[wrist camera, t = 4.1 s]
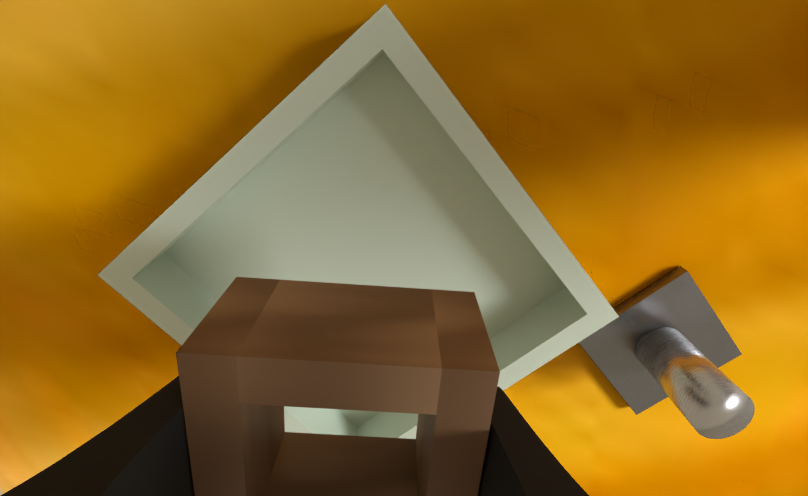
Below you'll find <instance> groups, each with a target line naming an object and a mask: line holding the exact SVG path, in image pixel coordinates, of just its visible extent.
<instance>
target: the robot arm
mask: <svg viewBox="0 0 808 496" xmlns="http://www.w3.org/2000/svg"><path fill="white" fill-rule="evenodd" d="M1 496H195V494H194V486H193V478H192V471H191V463H190V455H189V448H188V440H187V433H186V425H185V417H184V410H183V402H182V394H181V387H180V379H179V376H178V377H177V378H175V379H174V380H173V381H171V382H170V383H169V384H167V385H166V386H165V387H163V388H162V389H161V390H159V391H158V392H157V393H155V394H154V395H153V396H151V397H150V398H149V399H147V400H146V401H144V402H143V403H142V404H140V405H139V406H138V407H136V408H135V409H133V410H132V411H131V412H129V413H128V414H127V415H125V416H124V417H122V418H121V419H120V420H118V421H117V422H116V423H114V424H113V425H111V426H110V427H108V428H107V429H105V430H104V431H102V432H101V433H99V434H98V435H96V436H95V437H93V438H92V439H91V440H89V441H88V442H86V443H85V444H83V445H82V446H80V447H79V448H77V449H76V450H74V451H73V452H71V453H70V454H68V455H67V456H65V457H64V458H62V459H61V460H59V461H58V462H56V463H54V464H53V465H51V466H50V467H48V468H46V469H45V470H43V471H42V472H40V473H38V474H37V475H35V476H33V477H32V478H30V479H28V480H27V481H25V482H23V483H22V484H20V485H18V486H17V487H15V488H13V489H11V490H10V491H8V492H6V493H4V494H3V495H1ZM478 496H589V495H588V494H587V493H586V492H585V491H584V490H583V489H582V488H581V486H580V485H579V484H578V483H577V482H576V481H575V480H574V479H573V478H572V477H571V475H570V474H569V473H568V472H567V471H566V470H565V469H564V467H563V466H562V465H561V464H560V463H559V461H558V460H557V459H556V458H555V457H554V455H553V454H552V453H551V452H550V451H549V449H548V448H547V447H546V446H545V445H544V443H543V442H542V441H541V440H540V438H539V437H538V436H537V435H536V433H535V432H534V431H533V429H532V428H531V427H530V426H529V424H528V423H527V422H526V420H525V419H524V418H523V416H522V415H521V414H520V413H519V411H518V410H517V409H516V407H515V406H514V405H513V403H512V402H511V401H510V399H509V398H508V397H507V395H506V394H505V393H504V391H503V390H502V389H501V388H500V387H497V391H496V396H495V402H494V408H493V413H492V419H491V424H490V430H489V435H488V441H487V446H486V452H485V457H484V463H483V468H482V474H481V479H480V485H479V490H478Z"/></svg>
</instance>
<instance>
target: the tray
mask: <svg viewBox="0 0 808 496" xmlns="http://www.w3.org/2000/svg"><path fill="white" fill-rule="evenodd" d="M98 276H99V277H100V278H101V279H103V280H104V281H105V282H106V283H107V284H109V285H110V286H111V287H112V288H113V289H115V290H116V291H117V292H118V293H119V294H121V295H122V296H123V297H124V298H125V299H126V300H128V301H129V302H130V303H131V304H132V305H134V306H135V307H136V308H137V309H138V310H140V311H141V312H142V313H143V314H144V315H146V316H147V317H148V318H149V319H150V320H152V321H153V322H154V323H155V324H156V325H158V326H159V327H160V328H161V329H162V330H163V331H165V332H166V333H167V334H168V335H169V336H171V337H172V338H173V339H174V340H175V341H177V342H178V343H179V344H180V345H181V346H182V345H183V343H184V342H185V341H186V340H187V338H188V337H189V336H190V335H191V333H192V332H193V331H194V330H195V328H196V327H197V326H198V325H199V323H200V322H201V321H202V319H203V318H204V317H205V316H206V314H207V313H208V312H209V311H210V309H211V308H212V307H213V306H214V304H215V303H216V302H217V301H218V299H219V298H220V297H221V296H222V294H223V293H224V292H225V291H226V289H227V288H228V287H229V286H230V284H231V283H232V282H233V280H234V279H235V278H236V277H248V278H264V279H279V280H295V281H310V282H326V283H342V284H357V285H373V286H388V287H404V288H420V289H435V290H451V291H466V292H474V293H475V296H476V299H477V302H478V305H479V308H480V311H481V314H482V318H483V321H484V324H485V327H486V330H487V333H488V336H489V339H490V342H491V346H492V349H493V352H494V355H495V358H496V361H497V364H498V367H499V370H500V374H499V380H498V385H497V387H500V388H501V389H502V390H505V389H507V388H508V387H510V386H511V385H513V384H514V383H516V382H517V381H519V380H521V379H522V378H524V377H525V376H527V375H528V374H530V373H532V372H533V371H535V370H536V369H538V368H539V367H541V366H543V365H544V364H546V363H547V362H549V361H550V360H552V359H554V358H555V357H557V356H558V355H560V354H561V353H563V352H564V351H566V350H568V349H569V348H571V347H572V346H574V345H575V344H577V343H579V342H580V341H582V340H583V339H585V338H586V337H588V336H590V335H591V334H593V333H594V332H596V331H597V330H599V329H601V328H602V327H604V326H605V325H607V324H608V323H610V322H611V321H613V320H615V319H616V318H618V317H619V316H618V315H617V313H616V312H615V311H614V309H613V308H612V307H611V305H610V304H609V303H608V301H607V300H606V298H605V297H604V296H603V294H602V293H601V292H600V290H599V289H598V288H597V286H596V285H595V284H594V282H593V281H592V280H591V278H590V277H589V276H588V274H587V273H586V272H585V270H584V269H583V268H582V266H581V265H580V264H579V262H578V261H577V260H576V258H575V257H574V256H573V254H572V253H571V252H570V250H569V249H568V248H567V246H566V245H565V243H564V242H563V241H562V239H561V238H560V237H559V235H558V234H557V233H556V231H555V230H554V229H553V227H552V226H551V225H550V223H549V222H548V221H547V219H546V218H545V217H544V215H543V214H542V213H541V211H540V210H539V209H538V207H537V206H536V205H535V203H534V202H533V201H532V199H531V198H530V197H529V195H528V194H527V193H526V191H525V190H524V188H523V187H522V186H521V184H520V183H519V182H518V180H517V179H516V178H515V176H514V175H513V174H512V172H511V171H510V170H509V168H508V167H507V166H506V164H505V163H504V162H503V160H502V159H501V158H500V156H499V155H498V154H497V152H496V151H495V150H494V148H493V147H492V146H491V144H490V143H489V142H488V140H487V139H486V138H485V136H484V135H483V133H482V132H481V131H480V129H479V128H478V127H477V125H476V124H475V123H474V121H473V120H472V119H471V117H470V116H469V115H468V113H467V112H466V111H465V109H464V108H463V107H462V105H461V104H460V103H459V101H458V100H457V99H456V97H455V96H454V95H453V93H452V92H451V91H450V89H449V88H448V87H447V85H446V84H445V82H444V81H443V80H442V78H441V77H440V76H439V74H438V73H437V72H436V70H435V69H434V68H433V66H432V65H431V64H430V62H429V61H428V60H427V58H426V57H425V56H424V54H423V53H422V52H421V50H420V49H419V48H418V46H417V45H416V44H415V42H414V41H413V40H412V38H411V37H410V36H409V34H408V33H407V32H406V30H405V29H404V27H403V26H402V25H401V23H400V22H399V21H398V19H397V18H396V17H395V15H394V14H393V13H392V11H391V10H390V9H389V7H388V6H387V5H386V4H385V5H383V6H382V7H381V8H380V9H379V10H378V11H377V12H376V13H375V14H374V15H373V16H372V17H371V18H370V19H369V20H368V21H366V22H365V23H364V24H363V25H362V26H361V27H360V28H359V29H358V30H357V31H356V32H355V33H354V34H353V35H352V36H351V37H350V38H348V39H347V40H346V41H345V42H344V43H343V44H342V45H341V46H340V47H339V48H338V49H337V50H336V51H335V52H334V53H333V54H331V55H330V56H329V57H328V58H327V59H326V60H325V61H324V62H323V63H322V64H321V65H320V66H319V67H318V68H317V69H316V70H314V71H313V72H312V73H311V74H310V75H309V76H308V77H307V78H306V79H305V80H304V81H303V82H302V83H301V84H300V85H299V86H297V87H296V88H295V89H294V90H293V91H292V92H291V93H290V94H289V95H288V96H287V97H286V98H285V99H284V100H283V101H282V102H280V103H279V104H278V105H277V106H276V107H275V108H274V109H273V110H272V111H271V112H270V113H269V114H268V115H267V116H266V117H265V118H263V119H262V120H261V121H260V122H259V123H258V124H257V125H256V126H255V127H254V128H253V129H252V130H251V131H250V132H249V133H248V134H246V135H245V136H244V137H243V138H242V139H241V140H240V141H239V142H238V143H237V144H236V145H235V146H234V147H233V148H232V149H231V150H229V151H228V152H227V153H226V154H225V155H224V156H223V157H222V158H221V159H220V160H219V161H218V162H217V163H216V164H215V165H214V166H212V167H211V168H210V169H209V170H208V171H207V172H206V173H205V174H204V175H203V176H202V177H201V178H200V179H199V180H198V181H197V182H195V183H194V184H193V185H192V186H191V187H190V188H189V189H188V190H187V191H186V192H185V193H184V194H183V195H182V196H181V197H180V198H178V199H177V200H176V201H175V202H174V203H173V204H172V205H171V206H170V207H169V208H168V209H167V210H166V211H165V212H164V213H163V214H161V215H160V216H159V217H158V218H157V219H156V220H155V221H154V222H153V223H152V224H151V225H150V226H149V227H148V228H147V229H146V230H145V231H143V232H142V233H141V234H140V235H139V236H138V237H137V238H136V239H135V240H134V241H133V242H132V243H131V244H130V245H129V246H128V247H126V248H125V249H124V250H123V251H122V252H121V253H120V254H119V255H118V256H117V257H116V258H115V259H114V260H113V261H112V262H111V263H109V264H108V265H107V266H106V267H105V268H104V269H103V270H102V271H101V272H100V273H99V274H98ZM417 422H418V414H413V413H395V412H377V411H360V410H342V409H324V408H306V407H288V406H284V423H285V432H295V433H314V434H332V435H351V436H369V437H388V438H406V439H416V431H417Z"/></svg>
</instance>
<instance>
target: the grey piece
mask: <svg viewBox="0 0 808 496" xmlns="http://www.w3.org/2000/svg"><path fill="white" fill-rule="evenodd" d="M614 311H615V312H616V313H617V315H618V316H619V317H618V318H616V319H615V320H613V321H611V322H610V323H608V324H607V325H605V326H604V327H602V328H601V329H599V330H597V331H596V332H594V333H593V334H591V335H590V336H588V337H586V338H585V339H583V340H582V341H580V342H579V344H580V345H581V346H582V348H583V349H584V350H585V351H586V353H587V354H588V355H589V356H590V358H591V359H592V360H593V361H594V363H595V364H596V365H597V366H598V368H599V369H600V370H601V371H602V373H603V374H604V375H605V376H606V377H607V379H608V380H609V381H610V382H611V384H612V385H613V386H614V387H615V389H616V390H617V391H618V392H619V394H620V395H621V396H622V397H623V399H624V400H625V401H626V402H627V404H628V405H629V406H630V407H631V409H632V410H633V411H634V412H635V414H636V415H637V414H639V413H641V412H642V411H644V410H646V409H648V408H649V407H651V406H653V405H654V404H656V403H658V402H660V401H661V400H663V399H665V398H667V397H669V398H670V399H671V400H672V402H673V403H674V404H675V405H676V406H677V408H678V409H679V410H680V411H681V413H682V414H683V415H684V416H685V417H686V419H687V420H688V421H689V422H690V424H691V425H692V426H693V427H694V428H695V430H696V431H697V432H698V433H699V434H700V435H702V436H704V437H706V438H711V439H722V438H726V437H730V436H732V435H735V434H737V433H738V432H740V431H741V430H743V429H744V428H745V427H746V426H747V425H748V424H749V422H750V421H751V419H752V417H753V415H754V404H753V402H752V400H751V399H750V398H749V397H748V396H747V395H746V394H745V393H744V392H743V391H742V390H741V389H740V388H739V387H738V386H736V385H735V384H734V383H733V382H732V381H731V380H730V379H729V378H728V377H727V376H726V375H725V374H724V373H723V372H722V371H721V370H719V369H718V368H719V367H720V366H722V365H724V364H726V363H727V362H729V361H731V360H732V359H734V358H736V357H738V356H739V355H741V352H740V351H739V349H738V348H737V346H736V345H735V343H734V342H733V340H732V339H731V337H730V335H729V334H728V332H727V331H726V329H725V328H724V326H723V325H722V323H721V322H720V320H719V319H718V317H717V316H716V314H715V312H714V311H713V309H712V308H711V306H710V305H709V303H708V302H707V300H706V299H705V297H704V296H703V294H702V293H701V291H700V289H699V288H698V286H697V285H696V283H695V282H694V280H693V279H692V277H691V276H690V274H689V273H688V271H687V270H685V269H684V268H682V267H681V266H679V267H678V268H676V269H675V270H673V271H672V272H670V273H669V274H667V275H666V276H664V277H662V278H661V279H659V280H658V281H656V282H655V283H653V284H652V285H650V286H648V287H647V288H645V289H644V290H642V291H641V292H639V293H638V294H636V295H634V296H633V297H631V298H630V299H628V300H627V301H625V302H624V303H622V304H621V305H619V306H617V307H616V308H614Z"/></svg>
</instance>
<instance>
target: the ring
mask: <svg viewBox="0 0 808 496" xmlns="http://www.w3.org/2000/svg"><path fill="white" fill-rule="evenodd" d="M176 356H177V364H178V372H179V379H180V387H181V394H182V402H183V410H184V417H185V425H186V433H187V440H188V448H189V455H190V463H191V471H192V478H193V486H194V494H195V496H478V490H479V485H480V479H481V474H482V468H483V463H484V457H485V452H486V446H487V441H488V435H489V430H490V424H491V419H492V413H493V408H494V402H495V396H496V391H497V385H498V380H499V374H500V370H499V367H498V364H497V361H496V358H495V355H494V352H493V349H492V346H491V342H490V339H489V336H488V333H487V330H486V327H485V324H484V321H483V318H482V314H481V311H480V308H479V305H478V302H477V299H476V296H475V293H474V292H466V291H451V290H435V289H420V288H404V287H388V286H373V285H357V284H342V283H326V282H310V281H295V280H279V279H264V278H248V277H236V278H235V279H234V280H233V282H232V283H231V284H230V286H229V287H228V288H227V289H226V291H225V292H224V293H223V294H222V296H221V297H220V298H219V299H218V301H217V302H216V303H215V304H214V306H213V307H212V308H211V309H210V311H209V312H208V313H207V314H206V316H205V317H204V318H203V319H202V321H201V322H200V323H199V325H198V326H197V327H196V328H195V330H194V331H193V332H192V333H191V335H190V336H189V337H188V338H187V340H186V341H185V342H184V343H183V345H182V346H181V347H180V348H179V350H178V351H177V352H176ZM284 406H288V407H306V408H324V409H342V410H360V411H377V412H395V413H413V414H418V422H417V431H416V439H406V438H388V437H369V436H351V435H332V434H314V433H295V432H285V423H284Z"/></svg>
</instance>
